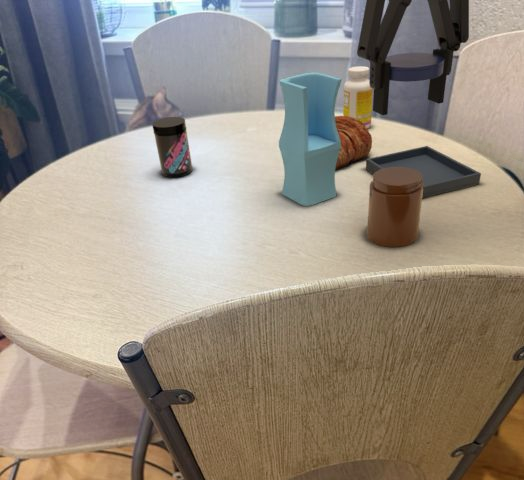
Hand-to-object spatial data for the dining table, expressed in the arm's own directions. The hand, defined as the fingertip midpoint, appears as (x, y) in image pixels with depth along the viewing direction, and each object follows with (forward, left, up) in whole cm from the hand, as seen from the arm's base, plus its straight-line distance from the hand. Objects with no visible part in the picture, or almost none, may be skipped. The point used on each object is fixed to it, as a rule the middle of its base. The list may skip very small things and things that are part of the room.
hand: (408, 106), depth 76 cm
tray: (+16, -15, -19) cm, 29 cm away
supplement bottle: (+49, -19, -19) cm, 56 cm away
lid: (0, 0, +6) cm, 6 cm away
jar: (-2, +2, -19) cm, 19 cm away
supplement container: (+44, +27, -19) cm, 55 cm away
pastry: (+34, -7, -19) cm, 40 cm away
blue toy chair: (+19, +7, -19) cm, 28 cm away
